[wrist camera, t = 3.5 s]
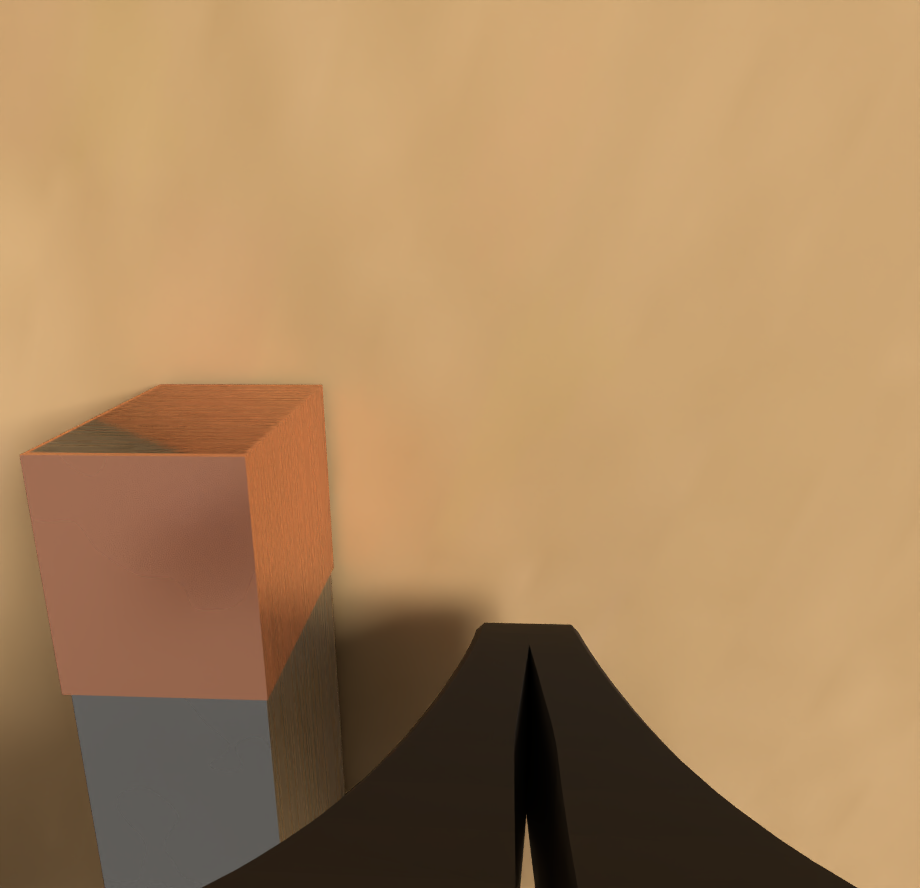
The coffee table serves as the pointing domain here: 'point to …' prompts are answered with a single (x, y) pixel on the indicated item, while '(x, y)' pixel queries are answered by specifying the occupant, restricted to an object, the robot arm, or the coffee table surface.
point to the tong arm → (194, 622)
